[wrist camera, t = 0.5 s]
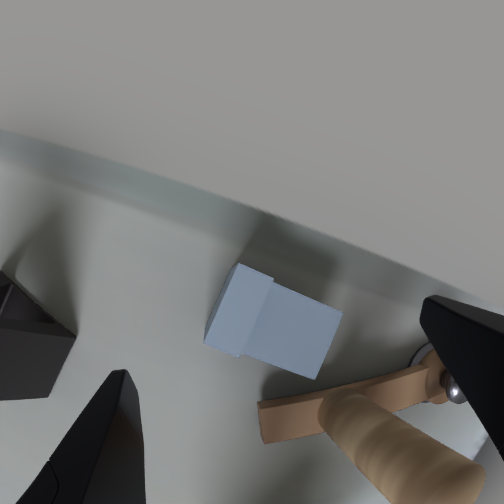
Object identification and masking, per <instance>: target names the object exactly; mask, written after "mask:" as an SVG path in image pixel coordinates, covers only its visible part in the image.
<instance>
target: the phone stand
mask: <svg viewBox="0 0 504 504" xmlns="http://www.w3.org/2000/svg"><path fill="white" fill-rule="evenodd" d="M75 339H76V336H75V335H74V334H73V333H71V332H70V331H69V330H68V329H66V328H65V327H64V326H63V325H61V324H60V323H59V322H58V321H56V320H55V319H54V318H53V317H52V316H50V315H49V314H48V313H47V312H46V311H44V310H43V309H42V308H41V307H40V306H39V305H37V304H35V303H34V301H33V300H32V299H31V298H30V297H28V296H27V295H26V294H25V293H24V292H23V291H22V290H21V289H20V288H19V287H18V286H16V285H15V284H14V283H13V282H12V281H11V280H10V279H9V278H8V277H7V276H6V275H5V274H4V273H3V272H2V271H0V401H2V400H21V399H35V398H47V397H49V394H50V392H51V390H52V387H53V385H54V383H55V381H56V379H57V377H58V374H59V372H60V370H61V368H62V366H63V364H64V362H65V360H66V358H67V356H68V353H69V351H70V349H71V347H72V345H73V343H74V341H75Z"/></svg>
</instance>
